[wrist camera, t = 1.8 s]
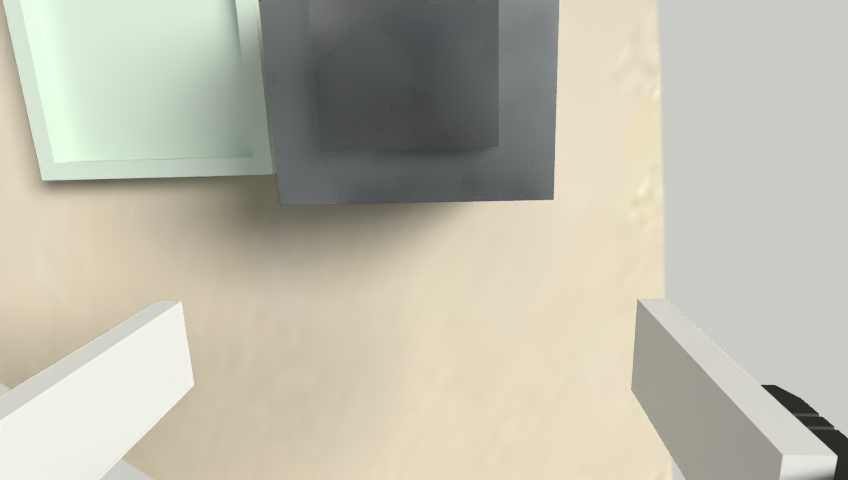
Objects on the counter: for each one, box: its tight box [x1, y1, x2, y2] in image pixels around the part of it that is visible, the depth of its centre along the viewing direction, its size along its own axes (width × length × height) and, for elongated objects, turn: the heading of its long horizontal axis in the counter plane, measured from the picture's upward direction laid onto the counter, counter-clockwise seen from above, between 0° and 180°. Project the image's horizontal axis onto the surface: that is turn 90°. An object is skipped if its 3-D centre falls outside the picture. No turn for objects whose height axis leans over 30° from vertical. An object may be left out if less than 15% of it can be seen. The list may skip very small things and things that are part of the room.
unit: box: [258, 0, 559, 205], centre depth 23 cm, size 11×11×13 cm
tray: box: [3, 0, 277, 181], centre depth 29 cm, size 16×14×2 cm
